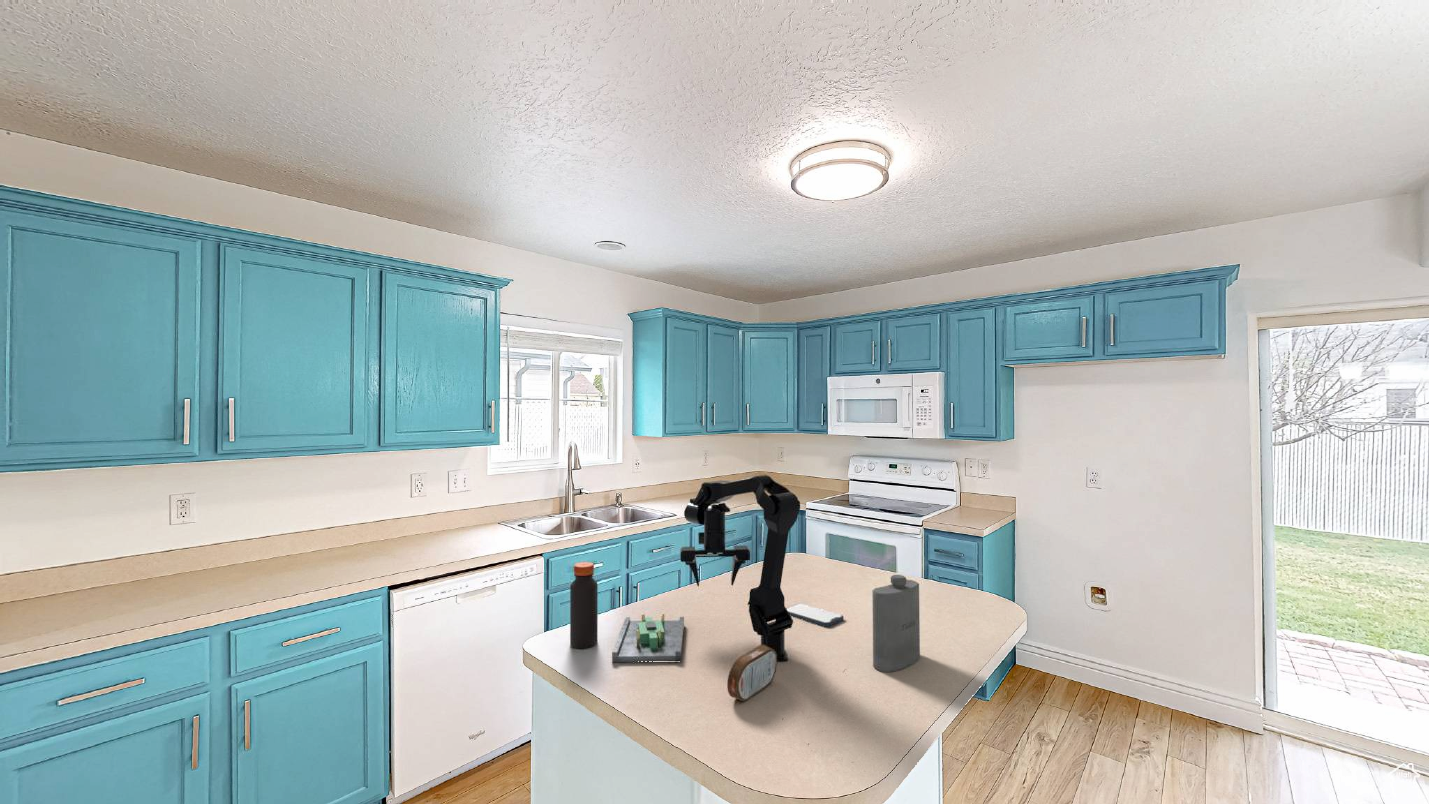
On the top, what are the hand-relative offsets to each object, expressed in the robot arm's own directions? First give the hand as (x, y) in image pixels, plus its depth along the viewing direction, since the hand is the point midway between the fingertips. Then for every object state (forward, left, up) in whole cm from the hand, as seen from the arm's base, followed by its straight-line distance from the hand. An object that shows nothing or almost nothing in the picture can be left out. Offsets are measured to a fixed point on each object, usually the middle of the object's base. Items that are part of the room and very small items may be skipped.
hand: (715, 585), depth 150 cm
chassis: (-9, +17, -12) cm, 22 cm away
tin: (-34, -7, -12) cm, 37 cm away
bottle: (-9, +34, -12) cm, 37 cm away
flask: (-21, -42, -12) cm, 49 cm away
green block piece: (-9, +17, -10) cm, 21 cm away
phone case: (+8, -28, -12) cm, 32 cm away
